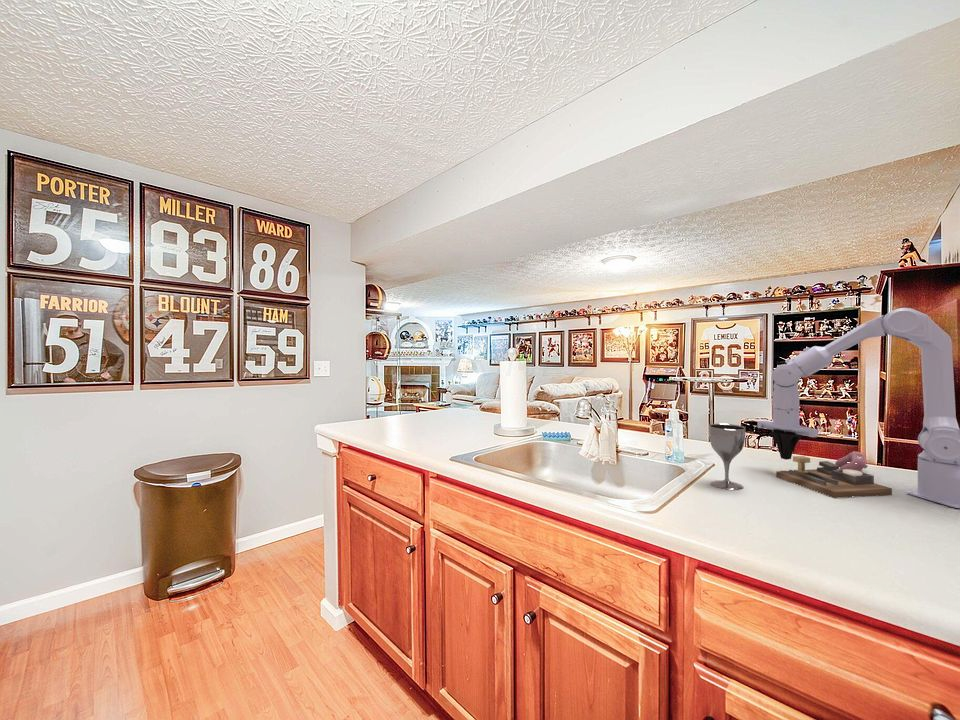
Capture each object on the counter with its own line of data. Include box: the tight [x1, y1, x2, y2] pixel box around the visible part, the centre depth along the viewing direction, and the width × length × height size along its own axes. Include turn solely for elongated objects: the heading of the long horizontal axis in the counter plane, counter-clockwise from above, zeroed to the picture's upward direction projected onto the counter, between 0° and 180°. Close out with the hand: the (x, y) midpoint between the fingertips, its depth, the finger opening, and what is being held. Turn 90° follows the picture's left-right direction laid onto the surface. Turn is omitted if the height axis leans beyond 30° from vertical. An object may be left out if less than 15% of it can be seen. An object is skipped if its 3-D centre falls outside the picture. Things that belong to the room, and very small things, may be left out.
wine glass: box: [708, 423, 746, 491], centre depth 103 cm, size 8×8×15 cm
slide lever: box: [792, 455, 811, 475], centre depth 105 cm, size 2×3×4 cm
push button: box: [843, 469, 862, 476], centre depth 100 cm, size 4×4×2 cm
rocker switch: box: [818, 460, 840, 470], centre depth 107 cm, size 3×2×1 cm
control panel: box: [775, 466, 893, 499], centre depth 102 cm, size 16×15×4 cm
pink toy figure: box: [834, 451, 869, 472], centre depth 112 cm, size 10×5×7 cm, turn 144°
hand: (785, 458), depth 110 cm, fingers closed
